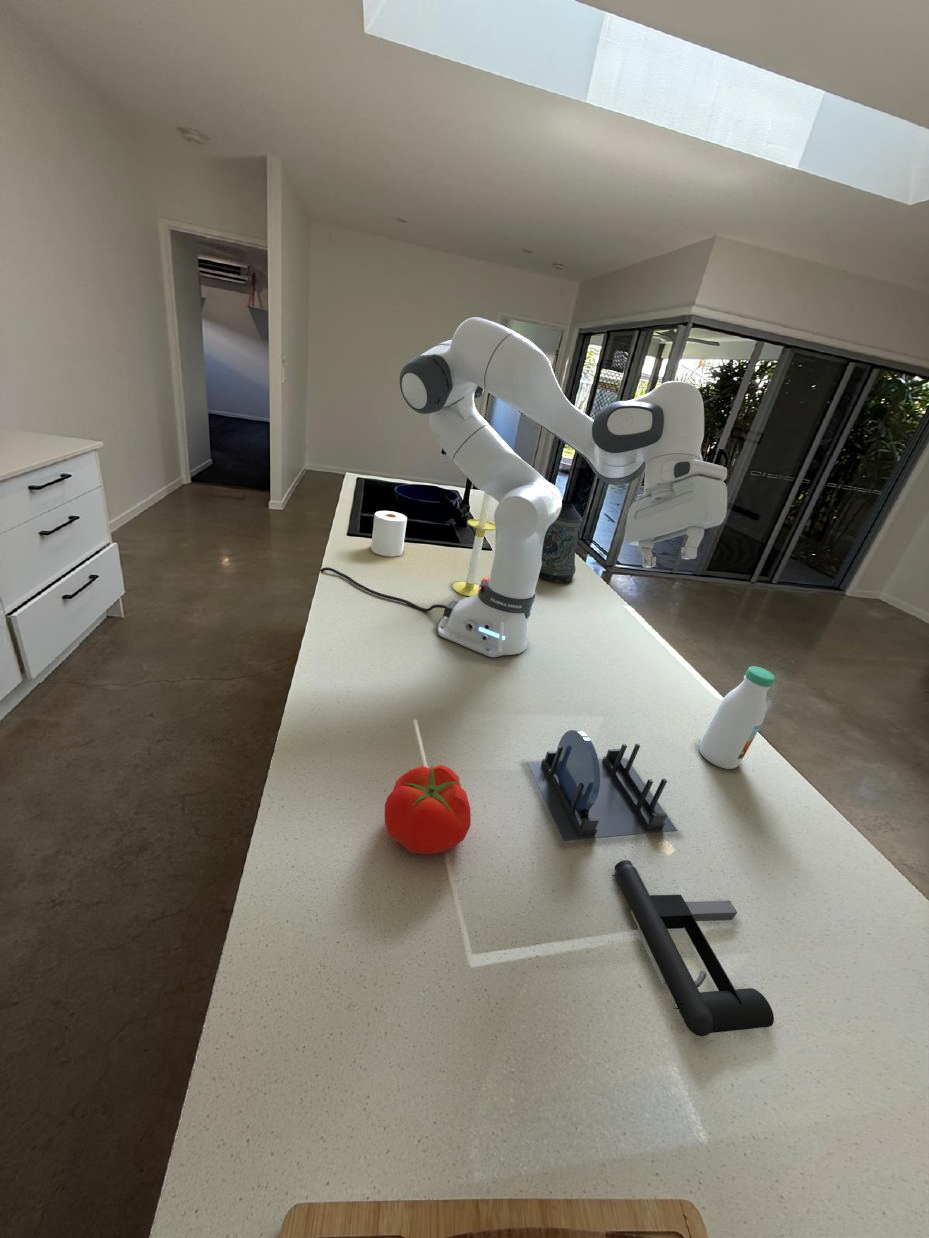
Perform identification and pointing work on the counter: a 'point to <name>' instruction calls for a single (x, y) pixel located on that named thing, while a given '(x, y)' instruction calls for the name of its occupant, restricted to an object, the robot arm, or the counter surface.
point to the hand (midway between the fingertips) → (667, 563)
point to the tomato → (428, 810)
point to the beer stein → (560, 546)
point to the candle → (476, 549)
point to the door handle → (695, 1007)
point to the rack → (604, 799)
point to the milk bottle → (737, 720)
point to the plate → (578, 768)
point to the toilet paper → (388, 533)
